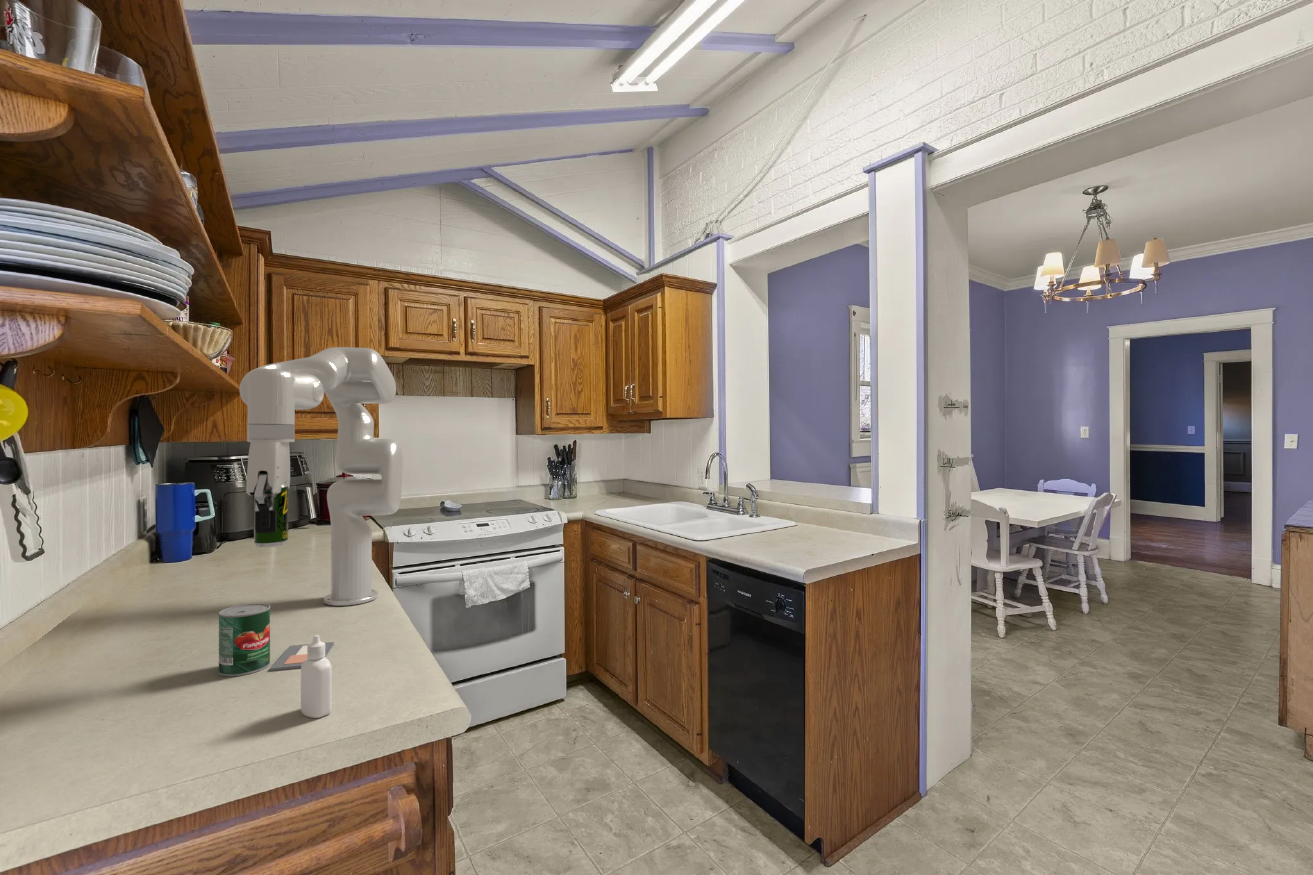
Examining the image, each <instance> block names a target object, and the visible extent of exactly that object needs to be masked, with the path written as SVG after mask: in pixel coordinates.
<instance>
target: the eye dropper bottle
mask: <svg viewBox="0 0 1313 875" xmlns="http://www.w3.org/2000/svg"><path fill="white" fill-rule="evenodd" d="M325 643H326V642H323V641H321V638H320V635H319V634H315V635H314V636H313V639H312V642H311V643H308V644H309V645H308V646H307V659H306V660H305V661H303V663H302V665H301V668H300V711H301V713H302V715H303V716H305V717H308V718H312V719H319V718H322V717H326V716H327V715H330V714H331V713H332V710H333V709H332V708H333V707H332V706H333V704H332V701H333V700H332V699H333V698H332V696H333V692H332V691H333V689H332V688H333V687H332V686H333V684H332V683H333V678H332V677H333V676H332V675H333V674H332V673H333V672H332V664H331V662H330V660H329V659H328V658H327V656H326V657H324V656H325Z"/></svg>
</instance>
